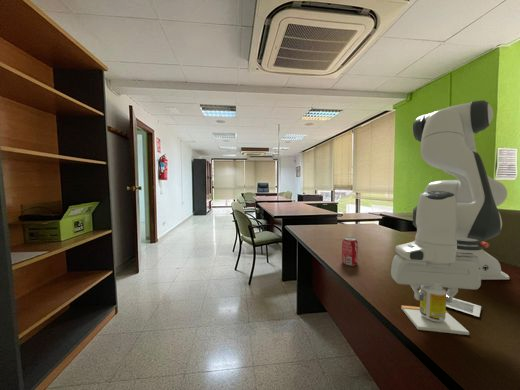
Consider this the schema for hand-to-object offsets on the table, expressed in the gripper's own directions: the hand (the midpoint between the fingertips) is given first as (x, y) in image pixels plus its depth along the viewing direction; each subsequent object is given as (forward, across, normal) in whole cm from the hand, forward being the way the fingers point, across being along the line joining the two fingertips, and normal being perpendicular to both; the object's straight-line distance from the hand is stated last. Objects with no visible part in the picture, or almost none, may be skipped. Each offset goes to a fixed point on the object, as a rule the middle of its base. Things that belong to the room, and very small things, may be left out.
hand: (432, 300), depth 60 cm
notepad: (+6, 0, 0) cm, 6 cm away
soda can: (+6, +13, -40) cm, 43 cm away
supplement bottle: (+5, 0, 0) cm, 5 cm away
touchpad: (+7, -10, -11) cm, 16 cm away
